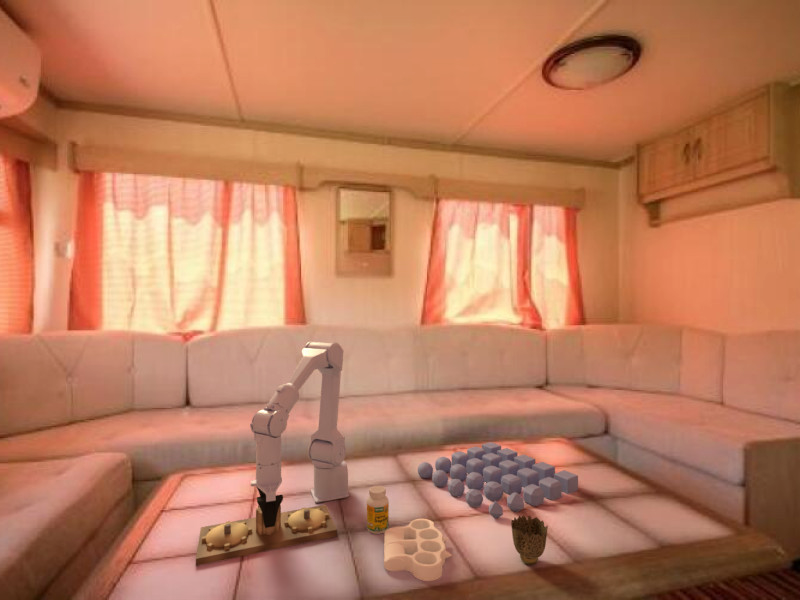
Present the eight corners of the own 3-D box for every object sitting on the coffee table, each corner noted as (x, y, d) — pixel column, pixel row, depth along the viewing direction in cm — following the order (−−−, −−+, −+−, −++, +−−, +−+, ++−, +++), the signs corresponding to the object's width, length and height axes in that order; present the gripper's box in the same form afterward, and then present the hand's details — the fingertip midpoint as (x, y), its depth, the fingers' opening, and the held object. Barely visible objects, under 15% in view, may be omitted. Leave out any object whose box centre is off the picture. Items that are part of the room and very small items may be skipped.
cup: (506, 551, 91) (506, 515, 91) (538, 549, 91) (538, 513, 92) (518, 573, 83) (518, 534, 83) (553, 571, 84) (553, 532, 84)
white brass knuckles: (384, 532, 99) (444, 531, 99) (383, 584, 81) (457, 582, 81) (384, 518, 99) (444, 518, 99) (383, 567, 81) (457, 565, 81)
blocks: (578, 492, 121) (578, 475, 121) (496, 527, 102) (496, 507, 102) (491, 455, 150) (491, 441, 150) (414, 477, 131) (414, 461, 131)
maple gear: (279, 520, 101) (279, 500, 101) (281, 532, 96) (281, 510, 96) (255, 524, 99) (255, 504, 99) (256, 537, 94) (256, 515, 94)
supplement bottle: (381, 520, 104) (381, 482, 104) (392, 530, 99) (392, 490, 99) (362, 526, 101) (362, 487, 101) (373, 537, 96) (373, 496, 96)
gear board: (325, 510, 109) (325, 495, 109) (336, 535, 97) (336, 518, 97) (200, 533, 98) (200, 516, 98) (195, 566, 86) (195, 546, 86)
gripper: (249, 452, 103) (249, 507, 103) (251, 475, 89) (251, 538, 89) (279, 449, 105) (278, 502, 105) (285, 470, 92) (285, 531, 92)
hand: (268, 518), depth 97 cm, fingers open, 7 cm apart
